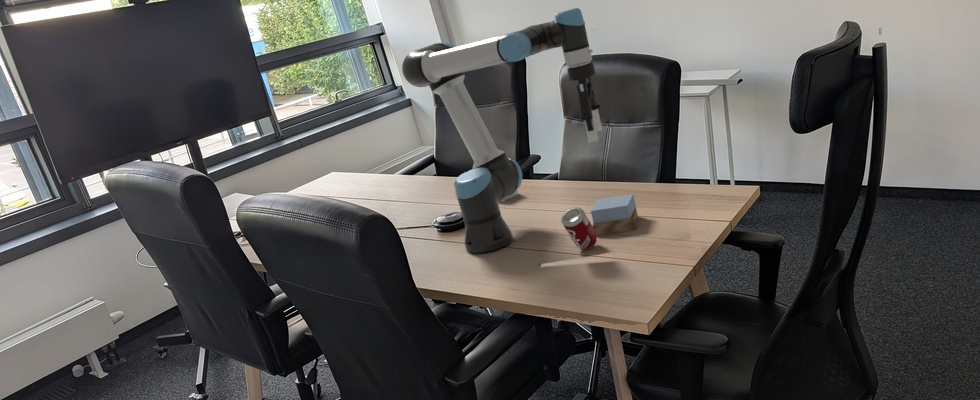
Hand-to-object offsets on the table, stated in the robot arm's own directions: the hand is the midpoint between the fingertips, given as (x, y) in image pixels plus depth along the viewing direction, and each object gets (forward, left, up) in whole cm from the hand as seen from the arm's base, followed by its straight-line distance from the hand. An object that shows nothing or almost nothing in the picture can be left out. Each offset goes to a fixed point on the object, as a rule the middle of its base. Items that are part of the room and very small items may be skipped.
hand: (595, 136), depth 217 cm
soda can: (-9, -20, -16) cm, 27 cm away
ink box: (-45, +47, -28) cm, 71 cm away
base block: (0, 0, -29) cm, 29 cm away
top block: (0, +1, -25) cm, 25 cm away
